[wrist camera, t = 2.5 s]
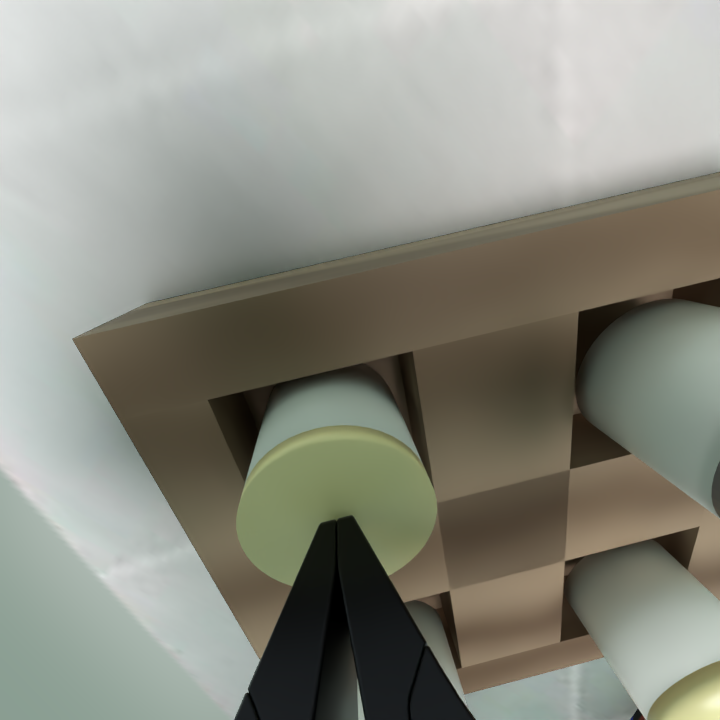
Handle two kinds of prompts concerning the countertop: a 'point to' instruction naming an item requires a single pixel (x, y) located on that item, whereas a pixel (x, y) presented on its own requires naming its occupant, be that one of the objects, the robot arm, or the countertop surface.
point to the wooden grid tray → (439, 409)
